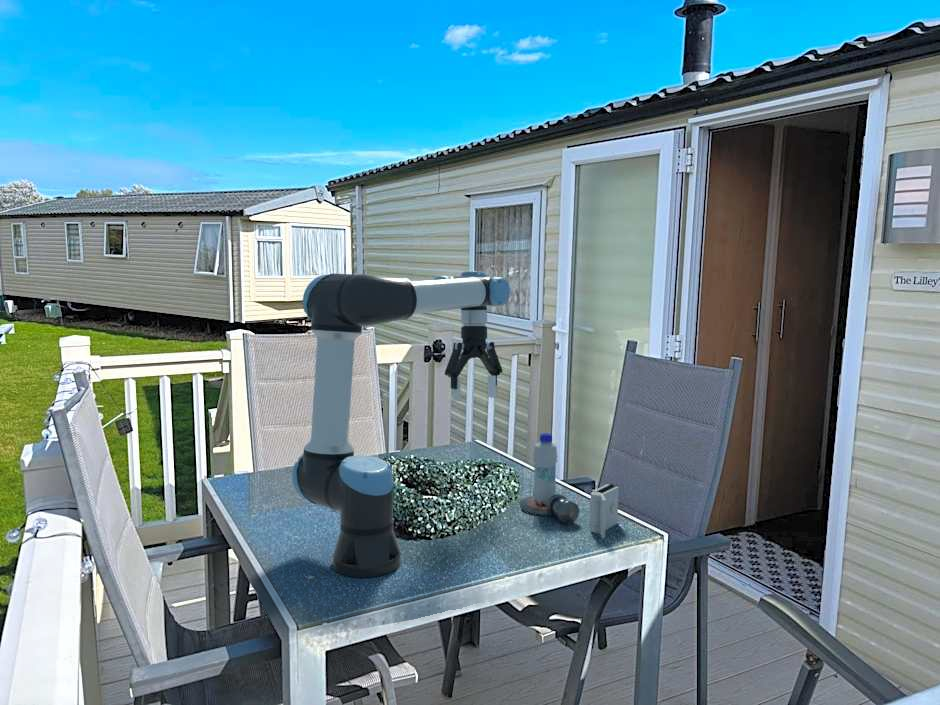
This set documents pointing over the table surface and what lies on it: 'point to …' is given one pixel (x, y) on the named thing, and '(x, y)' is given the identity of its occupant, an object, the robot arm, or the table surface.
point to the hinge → (604, 508)
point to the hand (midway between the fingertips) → (474, 399)
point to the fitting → (552, 508)
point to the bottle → (544, 469)
